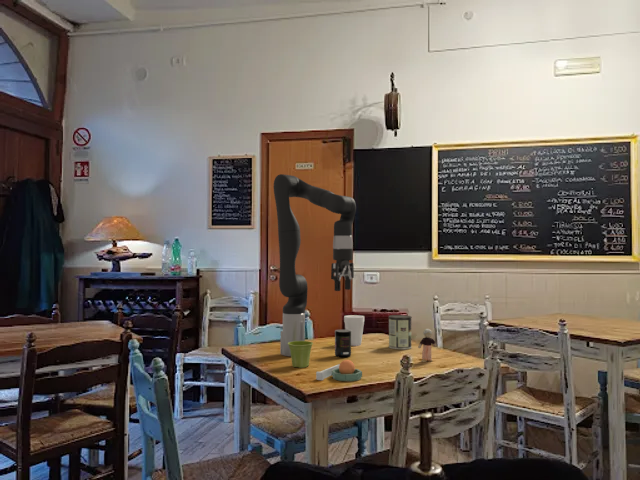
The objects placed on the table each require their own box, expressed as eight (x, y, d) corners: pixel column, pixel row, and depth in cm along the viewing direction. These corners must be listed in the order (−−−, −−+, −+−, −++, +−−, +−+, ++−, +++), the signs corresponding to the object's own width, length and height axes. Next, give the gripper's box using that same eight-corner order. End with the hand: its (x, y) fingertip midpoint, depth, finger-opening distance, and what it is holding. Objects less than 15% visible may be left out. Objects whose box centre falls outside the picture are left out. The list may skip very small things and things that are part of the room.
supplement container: (345, 354, 212) (346, 329, 213) (354, 357, 206) (354, 331, 207) (331, 355, 209) (331, 330, 210) (339, 358, 203) (339, 332, 204)
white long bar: (316, 379, 169) (316, 371, 169) (342, 368, 185) (342, 361, 185) (322, 380, 167) (322, 372, 167) (348, 369, 184) (348, 362, 184)
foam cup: (351, 342, 242) (351, 314, 242) (368, 344, 236) (368, 316, 237) (340, 344, 234) (340, 316, 235) (357, 347, 229) (357, 318, 229)
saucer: (327, 378, 169) (327, 372, 169) (340, 373, 178) (340, 366, 178) (353, 382, 165) (353, 375, 165) (365, 376, 173) (365, 370, 173)
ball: (336, 376, 170) (336, 360, 170) (343, 373, 175) (343, 357, 175) (350, 378, 168) (350, 362, 168) (357, 375, 172) (357, 359, 172)
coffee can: (400, 344, 235) (400, 314, 236) (416, 348, 227) (416, 316, 227) (383, 346, 230) (383, 315, 230) (399, 350, 221) (399, 318, 222)
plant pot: (292, 370, 182) (293, 345, 183) (284, 364, 191) (284, 341, 191) (316, 367, 186) (316, 344, 186) (307, 362, 195) (307, 340, 195)
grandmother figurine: (423, 362, 196) (423, 329, 196) (417, 361, 199) (416, 328, 200) (438, 361, 199) (438, 328, 200) (432, 359, 203) (432, 327, 203)
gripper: (342, 248, 202) (342, 288, 201) (325, 247, 189) (325, 291, 189) (359, 248, 198) (359, 289, 197) (343, 247, 186) (342, 291, 185)
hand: (342, 290), depth 193 cm, fingers open, 8 cm apart
